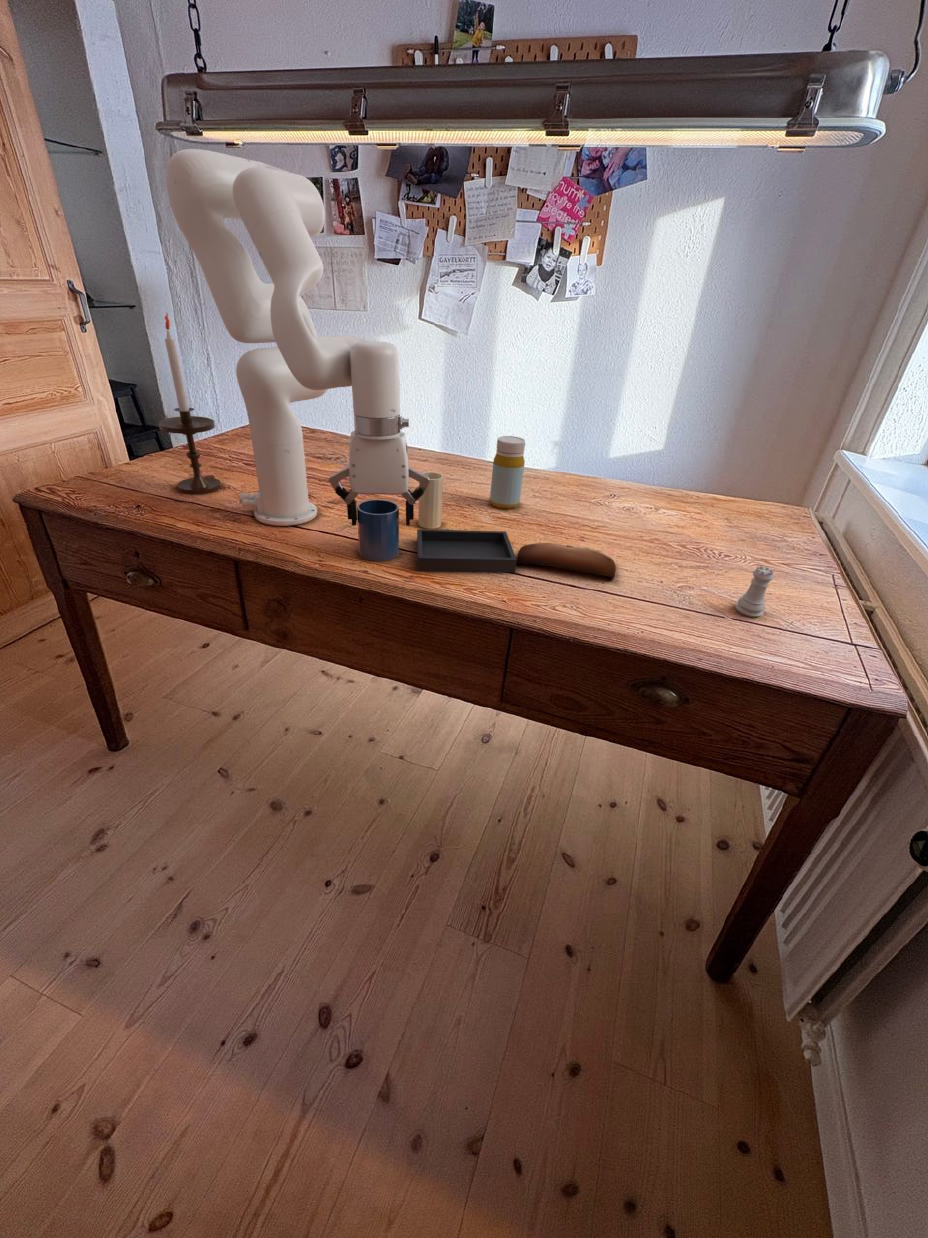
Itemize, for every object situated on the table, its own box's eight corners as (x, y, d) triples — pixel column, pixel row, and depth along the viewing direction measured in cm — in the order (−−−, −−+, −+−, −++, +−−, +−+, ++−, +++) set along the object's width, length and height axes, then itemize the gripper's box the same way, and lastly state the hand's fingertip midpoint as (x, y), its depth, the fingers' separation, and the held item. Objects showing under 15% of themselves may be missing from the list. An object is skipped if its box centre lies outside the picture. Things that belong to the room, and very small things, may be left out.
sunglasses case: (614, 560, 105) (620, 539, 99) (610, 591, 102) (616, 572, 96) (522, 545, 108) (523, 525, 102) (515, 575, 105) (515, 555, 99)
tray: (418, 571, 97) (418, 557, 96) (417, 541, 108) (417, 529, 106) (515, 572, 99) (516, 559, 98) (504, 543, 110) (506, 531, 108)
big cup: (357, 560, 99) (355, 514, 94) (360, 543, 105) (358, 498, 100) (398, 561, 100) (398, 515, 95) (399, 544, 106) (399, 500, 101)
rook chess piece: (738, 616, 91) (755, 573, 87) (731, 603, 95) (747, 561, 90) (766, 620, 91) (784, 577, 86) (758, 606, 94) (775, 565, 90)
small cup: (418, 528, 113) (419, 478, 108) (418, 519, 117) (419, 471, 112) (441, 529, 114) (443, 479, 108) (440, 520, 118) (442, 472, 112)
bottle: (517, 511, 125) (525, 445, 117) (487, 507, 126) (493, 441, 118) (520, 501, 131) (528, 437, 123) (492, 497, 132) (498, 433, 124)
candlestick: (195, 476, 130) (160, 309, 112) (235, 483, 128) (207, 313, 109) (162, 490, 121) (119, 311, 103) (204, 498, 119) (168, 316, 101)
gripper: (429, 421, 94) (428, 515, 103) (326, 419, 92) (335, 515, 101) (430, 431, 88) (429, 531, 97) (321, 429, 86) (330, 530, 95)
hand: (381, 523), depth 99 cm, fingers open, 9 cm apart
